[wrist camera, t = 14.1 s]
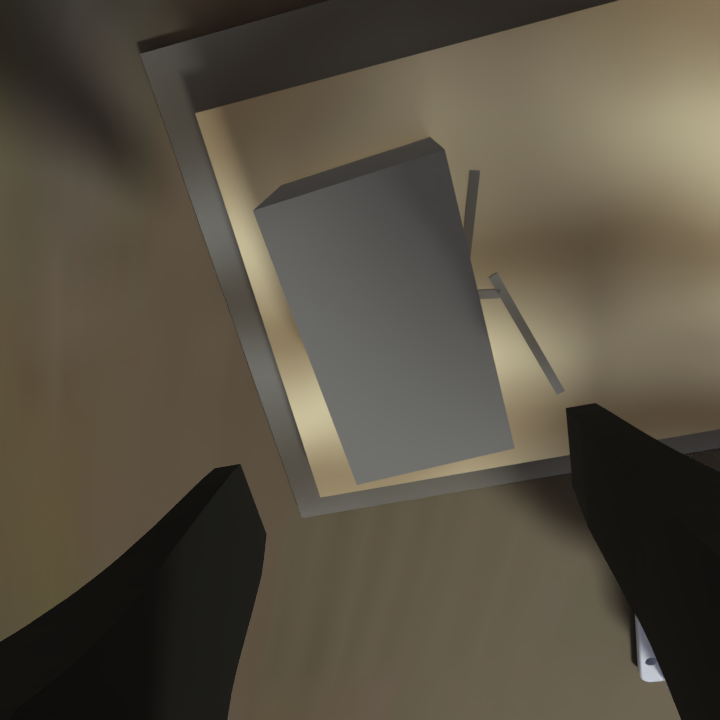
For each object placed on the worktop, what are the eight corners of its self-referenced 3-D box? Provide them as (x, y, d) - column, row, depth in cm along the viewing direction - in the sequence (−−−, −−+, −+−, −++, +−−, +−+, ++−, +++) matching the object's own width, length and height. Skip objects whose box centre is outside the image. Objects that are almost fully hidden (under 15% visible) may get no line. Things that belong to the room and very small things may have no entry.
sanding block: (487, 375, 20) (514, 448, 16) (361, 406, 20) (356, 485, 16) (429, 135, 17) (444, 149, 12) (283, 183, 17) (252, 210, 13)
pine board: (880, 414, 22) (923, 442, 20) (303, 511, 25) (297, 543, 23) (974, -181, 15) (1054, -218, 13) (144, 54, 18) (118, 50, 16)
